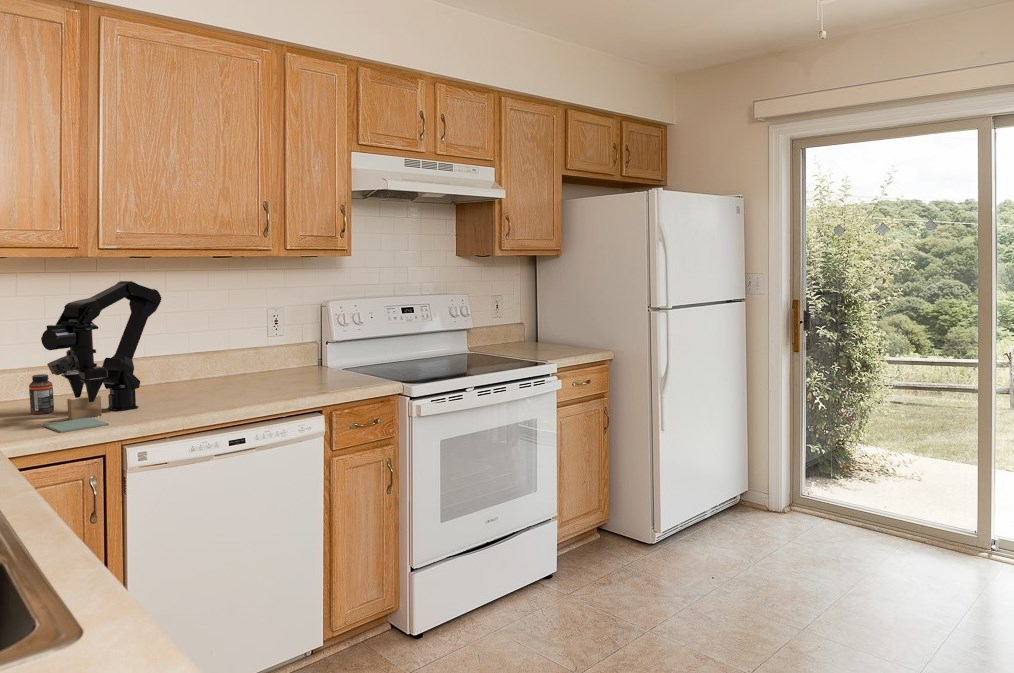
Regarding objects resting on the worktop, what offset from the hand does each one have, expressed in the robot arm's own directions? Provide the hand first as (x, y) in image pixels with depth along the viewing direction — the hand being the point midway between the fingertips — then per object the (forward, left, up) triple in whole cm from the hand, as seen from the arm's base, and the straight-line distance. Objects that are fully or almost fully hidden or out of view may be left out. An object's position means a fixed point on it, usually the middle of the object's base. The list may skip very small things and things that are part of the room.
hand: (84, 400), depth 210 cm
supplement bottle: (+5, -17, -5) cm, 18 cm away
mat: (+6, +9, -5) cm, 12 cm away
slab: (0, 0, -5) cm, 5 cm away
